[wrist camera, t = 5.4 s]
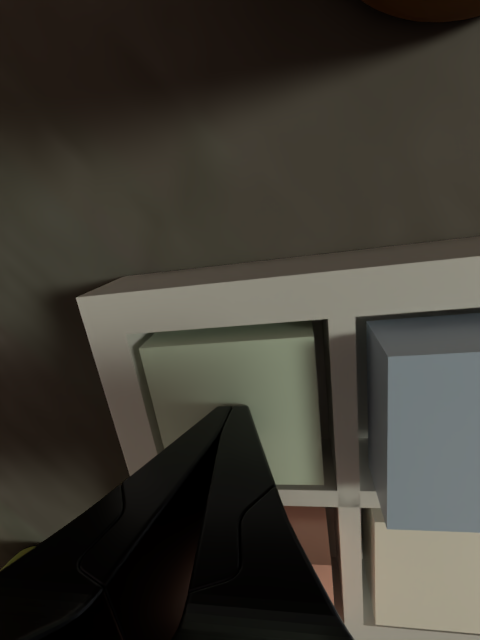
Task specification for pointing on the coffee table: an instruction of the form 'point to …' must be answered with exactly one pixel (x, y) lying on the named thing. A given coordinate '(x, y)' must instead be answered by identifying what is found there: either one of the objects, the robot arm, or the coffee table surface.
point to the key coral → (314, 540)
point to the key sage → (243, 388)
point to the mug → (428, 9)
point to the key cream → (422, 576)
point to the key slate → (425, 421)
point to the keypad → (331, 366)
